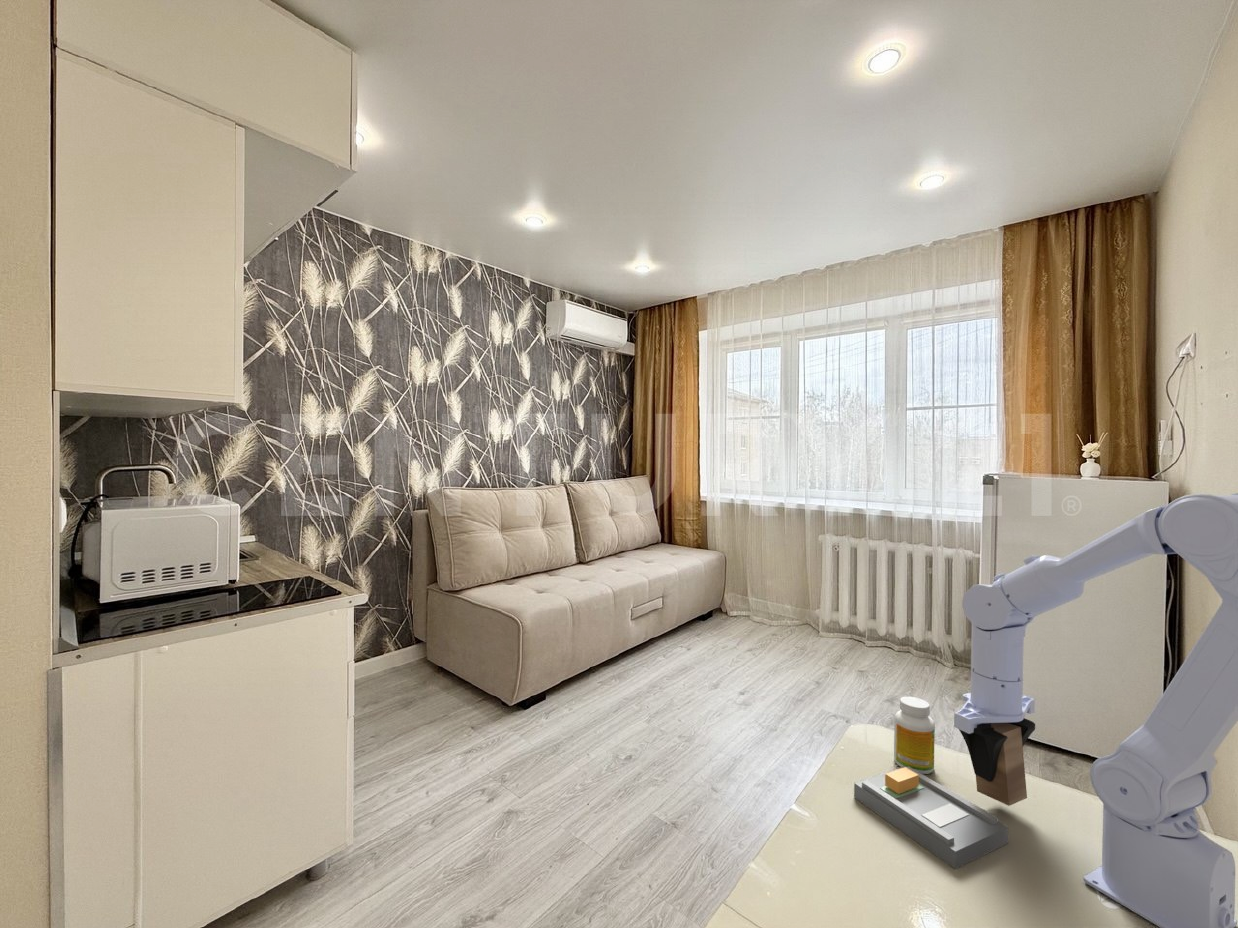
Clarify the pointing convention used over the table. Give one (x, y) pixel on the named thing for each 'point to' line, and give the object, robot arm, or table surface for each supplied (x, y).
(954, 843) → the grey railed tray
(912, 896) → the table surface
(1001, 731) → the tan wooden post
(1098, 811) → the table surface
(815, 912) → the table surface
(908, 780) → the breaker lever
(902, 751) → the supplement bottle
